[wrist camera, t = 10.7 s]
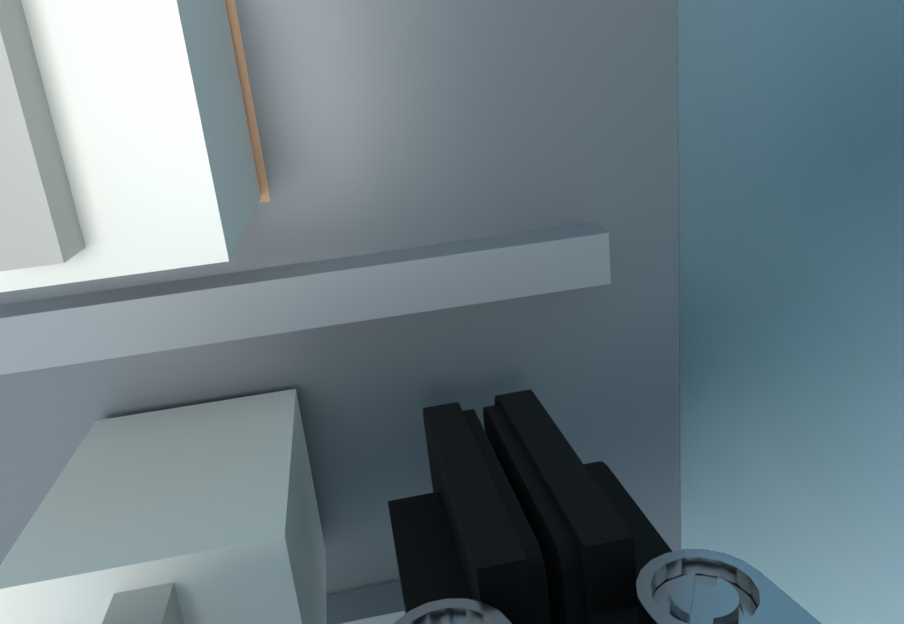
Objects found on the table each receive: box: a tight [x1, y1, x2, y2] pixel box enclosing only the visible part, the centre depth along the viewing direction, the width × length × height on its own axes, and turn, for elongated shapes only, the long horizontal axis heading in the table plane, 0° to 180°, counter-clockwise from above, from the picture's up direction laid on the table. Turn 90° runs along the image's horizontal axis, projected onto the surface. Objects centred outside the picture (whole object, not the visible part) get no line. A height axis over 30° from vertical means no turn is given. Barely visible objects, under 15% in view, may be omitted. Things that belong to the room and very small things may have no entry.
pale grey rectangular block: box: [0, 389, 327, 624], centre depth 10 cm, size 3×3×5 cm
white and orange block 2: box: [0, 0, 261, 292], centre depth 8 cm, size 3×3×5 cm
